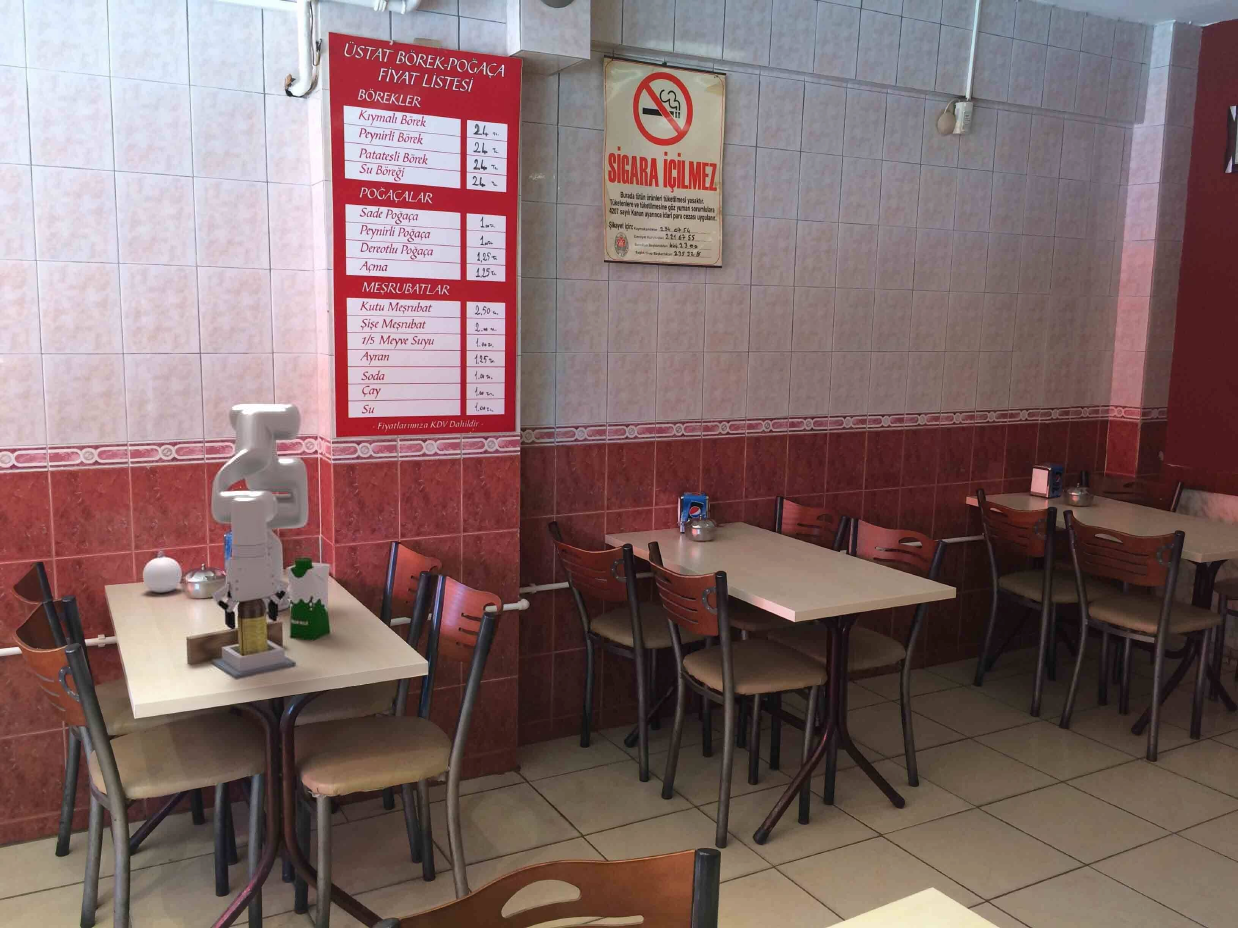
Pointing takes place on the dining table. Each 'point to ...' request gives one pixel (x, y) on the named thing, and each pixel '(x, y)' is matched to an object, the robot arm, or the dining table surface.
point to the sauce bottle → (252, 627)
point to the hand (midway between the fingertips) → (252, 623)
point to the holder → (252, 661)
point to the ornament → (162, 574)
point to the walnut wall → (224, 642)
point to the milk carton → (308, 599)
